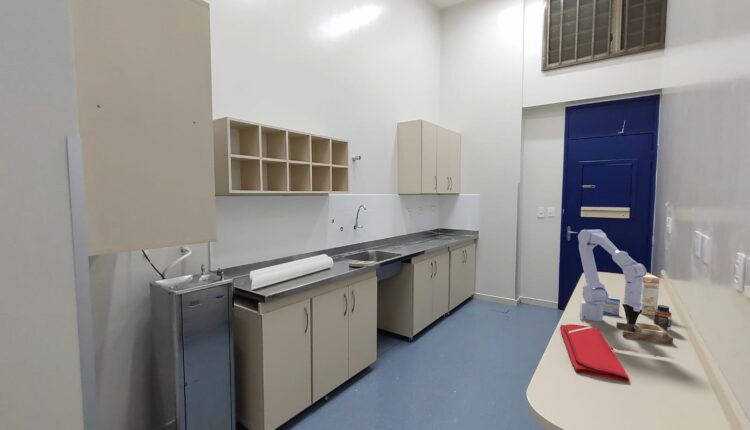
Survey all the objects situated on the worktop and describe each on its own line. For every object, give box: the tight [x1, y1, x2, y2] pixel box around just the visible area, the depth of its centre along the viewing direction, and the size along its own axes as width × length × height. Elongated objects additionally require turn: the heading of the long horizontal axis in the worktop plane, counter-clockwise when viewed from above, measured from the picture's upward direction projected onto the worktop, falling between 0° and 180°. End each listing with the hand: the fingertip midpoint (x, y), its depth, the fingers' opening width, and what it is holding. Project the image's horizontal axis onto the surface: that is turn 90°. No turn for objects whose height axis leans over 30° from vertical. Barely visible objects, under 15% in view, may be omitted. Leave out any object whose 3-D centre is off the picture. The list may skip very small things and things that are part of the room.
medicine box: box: [603, 296, 621, 317], centre depth 175 cm, size 8×4×9 cm, turn 68°
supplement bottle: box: [653, 304, 672, 332], centre depth 154 cm, size 6×6×11 cm
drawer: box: [625, 316, 666, 337], centre depth 145 cm, size 12×9×8 cm
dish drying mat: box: [559, 323, 630, 383], centre depth 132 cm, size 16×41×4 cm, turn 158°
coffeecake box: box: [640, 272, 661, 316], centre depth 181 cm, size 15×7×20 cm, turn 161°
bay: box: [615, 321, 674, 346], centre depth 146 cm, size 19×16×4 cm
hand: (630, 322), depth 147 cm, fingers closed on drawer, 3 cm apart
